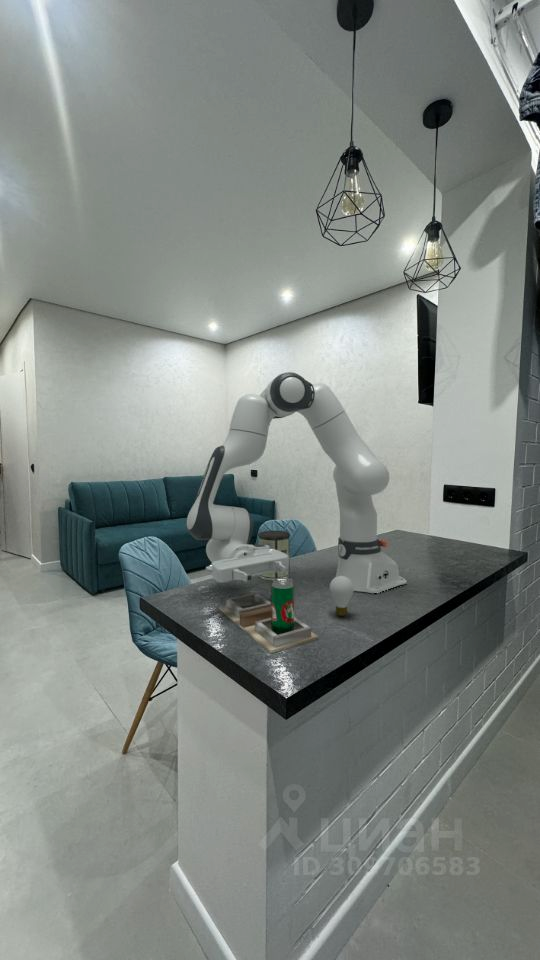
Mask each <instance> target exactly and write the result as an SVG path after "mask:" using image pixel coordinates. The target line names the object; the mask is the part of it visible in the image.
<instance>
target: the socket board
mask: <svg viewBox="0 0 540 960" xmlns="http://www.w3.org/2000/svg"><path fill="white" fill-rule="evenodd" d="M252 605H254V606H252ZM248 606H249V607H248ZM218 608H219V609H218V610H219V611H220V612H222V613H223V614H224V615H225V616H226V617H227V618H229V619H230V620H231V621H232V622H233V623H234V624H235V625H236V626H238V627H239V628H240V629H241V630H243V631H244V633H246V634H247V635H249V636H250V637H251V638H252V639H253V640H254V641H255V642H257V643H258V644H259V645H260V646H261V647H263V648H264V650H266V651H267V652H268V653H270V654H273V653H277V652H279V651H284V650H287V649H290V648H293V647H296V646H300V645H303V644H306V643H309V642H312V641H316V640H319V636H318V635H317V634H315V633H314V632H312V627H310V626H309V625H308V624H306V623H304V622H303V621H301V620H299V619H298V618H297V617H295V616H294V631H290V632H287V633H283V634H279V635H277V634H275V633H274V632H273V631H271V600H268V599H266V598H265V597H263V596H262V595H260V594H258V593H257V592H254V593H249V594H244V595H243V594H242V595H238V596H234V597H229V598H225V600H224V605H222V606H219V607H218Z"/></svg>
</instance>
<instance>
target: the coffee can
mask: <svg viewBox="0 0 540 960" xmlns="http://www.w3.org/2000/svg"><path fill="white" fill-rule="evenodd" d="M290 537H291V534H290V532H288V531H284V530H265V531H261V532H259V533H258V545H268V546H270V549H275V550H278V551H280V552H283V553H285V554H287V555H288V557H289V558H290ZM290 563H291V562H289V567H288V569H287V570H285V573H284V574H278V573H277V572H273V573H268V574H263V575H258V577H259V578H261V579H262V580H265V581H273V580H274V579H276V578H290V577H291V575H290V570H291V569H290Z"/></svg>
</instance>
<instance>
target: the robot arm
mask: <svg viewBox="0 0 540 960" xmlns="http://www.w3.org/2000/svg"><path fill="white" fill-rule="evenodd" d="M295 413H299V414H300V415H301V416H303V417H304V419H305V420H306V421H307V423H308V425H309V426H310V429H311V431H312V432H313V434H314V436H315V437H316V438H315V439H317V441H318V443H319V445H320V447H321V449H322V451H324V453H325V454H326V455H327V456H328V457H329V459H330V460H331V461H332V462H333V463H334V466H335V467H334V468H333V471H332V475H333V476H332V477H333V480H334V483H335V489H336V495H337V496H336V497H337V501H338V508H339V537H338V539H337V542H338V543H337V551H338V552H337V553H338V560H337V561H338V562H337V568H336V573H335V577H338V576H345V577H347V578H349V579H350V580H351V582H352V583H353V586H354V592H363V593H367V594H374V593H377V594H381V593H383V592H382V591H384V592H386V591H385V590H387V591H389V590H388V589H390V588H393V587H396V586H398V585H401V584H404V583H406V582H407V583H408V581H407V579H405V578H404V577H402V576H401V575H400V571H399V567H398V564H397V563H396V561H395V560H393V559H392V558H391V557H390V556H389V555H387V554H386V553H385V552H383V550H382V548H381V547H383V548H384V549H385V548H387V547H388V546H389V542H388V541H387V540H384V539H380V540H379V539H378V513H377V510H376V508H375V506H374V502H373V498H372V496H374V495H378V494H379V493H382V492H383V491H384V490H385V489H386V488H387V486H388V485H389V483H390V473H389V472H390V471H389V469H388V468H387V466H386V465H385V464H384V463H383V462H381V460H380V459H378V457H376V455H375V453H373V451H372V450H371V449H370V447H369V446H368V445H367V443H366V442H365V441H364V440H363V439H362V436H360V435H359V433H358V432H357V430H356V428H355V427H354V424H353V422H352V421H351V419H350V418H349V415H348V414H347V412H346V410H345V408H344V406H343V405H342V403H341V402H340V400H339V398H338V397H337V395H335V393H334V391H332V390H331V388H330V387H329V386H328V385H327V384H325V383H322V382H320V383H318V382H317V383H314V384H313V383H311V382H309V381H308V380H307V379H305V378H304V377H303V376H301V375H300V374H298V373H296V372H292V371H291V372H283V373H280V374H279V375H277V376H276V377H274V379H272V380H271V381H270V382H269V383H268V385H267V386H266V388H264V389H263V391H262V392H261V393H260V394H251V393H250V394H245V395H243V396H241V397H239V399H238V400H237V402H236V405H235V407H234V411H233V413H232V417H231V420H230V424H229V430H228V434H227V437H226V439H225V440H224V441H223V443H222V444H221V445H220V446H217V447H216V448H215V449H214V450H213V452H212V454H211V456H210V458H209V460H208V463H207V466H206V468H205V471H204V474H203V477H202V479H201V482H200V485H199V488H198V491H197V493H196V496H195V499H194V501H193V503H192V505H191V507H190V509H189V512H188V514H187V517H186V523H185V524H186V529H187V531H188V532H189V534H190V535H191V536H192V537H193V538H194V539H195V540H197V541H203V540H204V541H206V540H207V543H206V547H205V553H206V556H207V557H208V560H209V561H210V563H211V564H209V565H208V566H206V567H205V571H207V572H208V573H211V577H212V578H213V580H214V581H215V582H217V583H228V582H233V581H242V582H245V583H246V582H250V581H251V580H252V578H253V577H259V575H263V574H268V573H273V572H277V573H278V574H284V573H285V570H287V569H288V567H289V566H290V564H289V563H290V556H289V557H288V555H287V554H285V553H283V552H280V551H278V550H275V549H270V546H268V545H259V544H250V541H251V540H252V537H253V532H254V522H253V518H252V516H251V513H250V512H249V511H248V510H247V509H246V508H244V507H237V506H230V505H229V506H228V505H221V504H214V502H215V498H216V495H217V492H218V490H219V486H220V485H221V484H220V483H221V481H222V479H223V476H224V475H225V474H226V473H227V472H228V471H230V470H232V469H235V468H239V467H240V468H241V467H245V466H248V465H249V466H250V465H251V464H253V463H255V462H257V461H258V460H259V459H260V458H261V457H262V456H263V454H264V452H265V451H266V447H267V441H268V436H269V429H270V426H271V423H272V421H273V420H274V419H275V420H276V419H283V418H287V417H289V416H292V415H293V414H295ZM335 577H334V578H335ZM401 579H403V580H401ZM380 592H381V593H380Z"/></svg>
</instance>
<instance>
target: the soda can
mask: <svg viewBox="0 0 540 960" xmlns="http://www.w3.org/2000/svg"><path fill="white" fill-rule="evenodd" d="M293 581H294V580H293V579H292V578H290V577H288V578H276V579H274V580H272V583H271V585H270V597H271V598H270V602H271V631H273V632H274V633H275V634H277V635H279V634H283V633H287V632H290V631H294V617H295V584H294V583H293Z"/></svg>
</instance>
